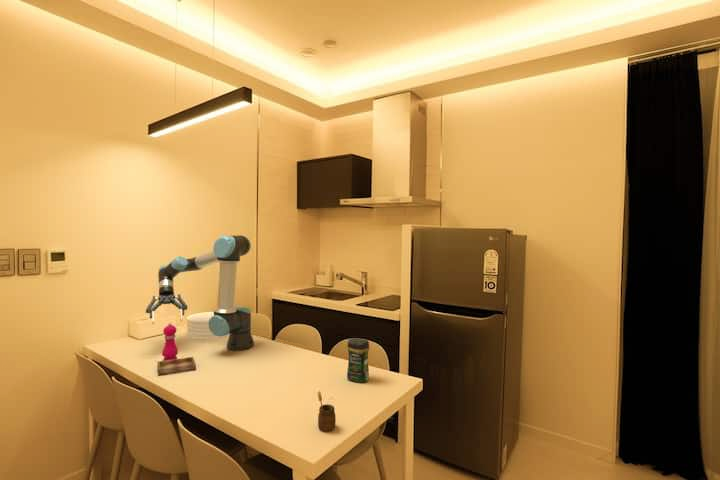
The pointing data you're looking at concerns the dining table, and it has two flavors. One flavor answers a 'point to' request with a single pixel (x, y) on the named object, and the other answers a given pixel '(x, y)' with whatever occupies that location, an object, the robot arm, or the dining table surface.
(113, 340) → the dining table surface
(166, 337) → the pepper mill
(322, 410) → the utensil holder
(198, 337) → the plate stack
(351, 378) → the coffee jar
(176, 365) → the tray
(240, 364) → the dining table surface
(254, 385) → the dining table surface
